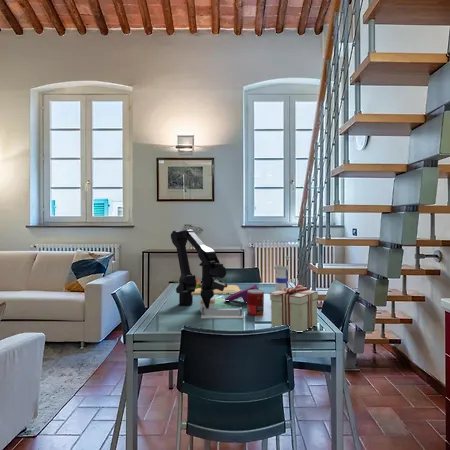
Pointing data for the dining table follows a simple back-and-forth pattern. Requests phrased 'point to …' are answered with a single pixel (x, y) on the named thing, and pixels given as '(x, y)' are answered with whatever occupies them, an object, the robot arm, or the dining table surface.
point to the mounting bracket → (241, 294)
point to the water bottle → (281, 276)
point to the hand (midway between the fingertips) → (207, 307)
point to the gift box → (294, 308)
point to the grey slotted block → (211, 305)
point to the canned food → (255, 302)
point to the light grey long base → (221, 313)
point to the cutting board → (226, 289)
